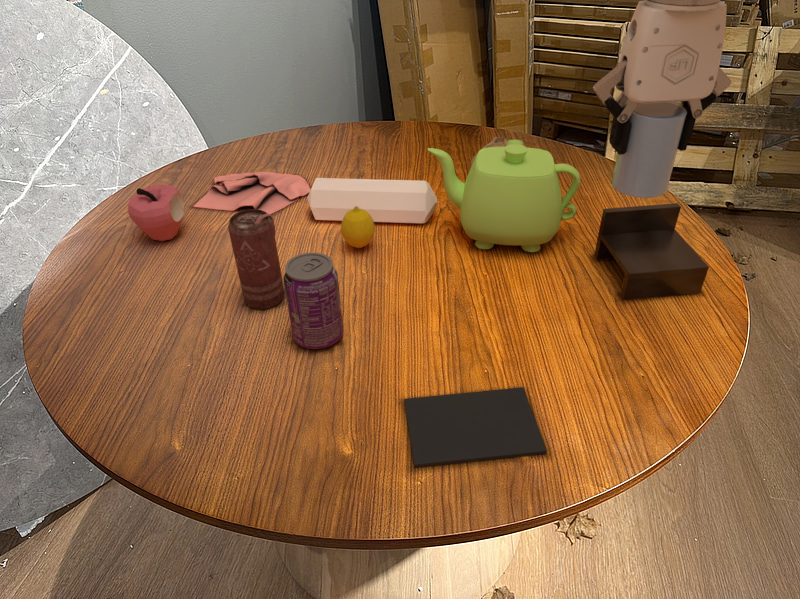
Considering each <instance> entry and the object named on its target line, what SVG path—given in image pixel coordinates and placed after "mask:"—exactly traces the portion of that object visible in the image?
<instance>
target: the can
mask: <svg viewBox="0 0 800 599" xmlns="http://www.w3.org/2000/svg"><path fill="white" fill-rule="evenodd" d="M274 220H275V219H274V217H273V214H268V213H266V212H265V211H262V210H257V209H250V210H244V211H241V210H240V211H238V212H236V213H235V214H233V215H232V216H231V217H230V218H229V223H228V225H227V229H228V234H229V239H230V243H231V247H232V251H233V257H234V260H235V261H234V262H235V265H236V270H237V274H238V278H239V284H240V288H241V291H242V296H243V300H244V303H245V304H246V305H247V306H248V307H250V308H252V309H255V310H268V309H272V308H274V307H276V306H278V305H279V304H280V303H281V302H282V301H283V299H284V297H285V295H286V294H285V288H284V281H283V276H282V270H281V263H280V259H279V258H280V257H279V252H278V246H277V240H276V224H275V221H274Z"/></svg>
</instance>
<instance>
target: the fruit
mask: <svg viewBox="0 0 800 599" xmlns="http://www.w3.org/2000/svg"><path fill="white" fill-rule="evenodd" d="M340 230H341V235H342V238H343V239H344V240H345V242H346V243H347V244H348V245H349V246H351V247H354V248H356V249H362V248H363V247H366V246H367V245H368V244H370V243H371V242H372V240H373V238H374V235H375V233H376V232H375V231H376V226H375V222H373V219H372V217H371V216H370V214H369V213H368V212H367V211H365V210H363V209H359V207H357V206H356V207H354V209H352V210H350V211H348V212H347V213H346V214H345V216H344V218H343V221H341V224H340Z"/></svg>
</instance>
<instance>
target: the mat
mask: <svg viewBox="0 0 800 599" xmlns="http://www.w3.org/2000/svg"><path fill="white" fill-rule="evenodd" d="M403 403H404V410H405V417H406V422H407V423H406V424H407V428H408V434H409V442H410V448H411V449H410V450H411V454H412V460H413V467H414V468H416V469H417V468H425V467H434V466H444V465H452V464H463V463H472V462H482V461H492V460H501V459H510V458H520V457H530V456H540V455H547V451H548V450H547V447H546V444H545V442H544V439H543V437H542V433H541V431H540V428H539V425H538V423H537V420H536V418H535V415H534V412H533V410H532V407H531V405H530V402H529V399H528V397H527V394H526V391H525V389H524V387H523V386H522V387H521V386H520V387H511V388H501V389H491V390H489V389H488V390H481V391H480V390H479V391H472V392H471V391H469V392H460V393H459V392H458V393H448V394H440V395H439V394H438V395H429V396H418V397H410V398H404V399H403Z"/></svg>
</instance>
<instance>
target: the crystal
mask: <svg viewBox="0 0 800 599" xmlns="http://www.w3.org/2000/svg"><path fill="white" fill-rule="evenodd" d="M310 189H311V190H310V192H309V194H307V197H306V201H307V203H308V205H309V208H310V210H311V212H312V215H313V217H314V220H316V221H339V222H342V221H343V218H344V216H345V214H346V213H347V212H348V211H350V210H352V209H354V207H356V206H357V207H359V209H363V210H365V211H367V212H368V213H369V214H370V216H371V217H372V219H373V222H374V223H399V224H402V223H403V224H426V223H427V222H428V221H429V220H430V219H431V217H432V216H433V214H434V212H435V211H436V210H437V207H438V204H439V203H438V198H437V195H436V194H435V192H434V190H433V188H432V186H431V184H430V183H429V182H428V181H427V180H413V179H410V180H408V179H374V178H373V179H371V178H340V177H339V178H337V177H335V178H334V177H315V180H314V182H313V184H312V186H311V187H310Z"/></svg>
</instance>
